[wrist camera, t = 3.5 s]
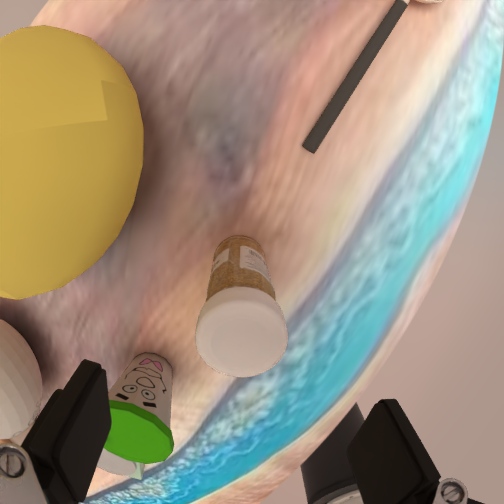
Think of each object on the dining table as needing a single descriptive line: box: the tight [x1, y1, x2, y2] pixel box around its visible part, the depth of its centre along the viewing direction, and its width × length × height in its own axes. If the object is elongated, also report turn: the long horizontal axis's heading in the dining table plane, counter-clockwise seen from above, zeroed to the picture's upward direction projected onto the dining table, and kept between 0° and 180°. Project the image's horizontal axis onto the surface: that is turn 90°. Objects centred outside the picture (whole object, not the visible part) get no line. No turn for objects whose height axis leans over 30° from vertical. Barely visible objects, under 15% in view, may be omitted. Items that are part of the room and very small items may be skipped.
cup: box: [104, 353, 174, 464], centre depth 23 cm, size 8×8×15 cm
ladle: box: [302, 0, 444, 153], centre depth 20 cm, size 8×31×4 cm, turn 150°
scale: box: [96, 448, 144, 480], centre depth 32 cm, size 9×9×3 cm
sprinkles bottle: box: [195, 236, 288, 377], centre depth 20 cm, size 5×5×13 cm
